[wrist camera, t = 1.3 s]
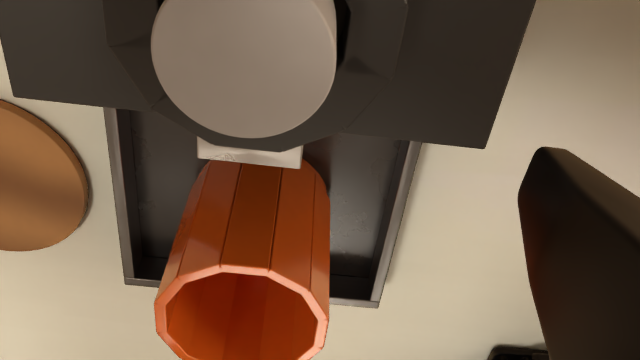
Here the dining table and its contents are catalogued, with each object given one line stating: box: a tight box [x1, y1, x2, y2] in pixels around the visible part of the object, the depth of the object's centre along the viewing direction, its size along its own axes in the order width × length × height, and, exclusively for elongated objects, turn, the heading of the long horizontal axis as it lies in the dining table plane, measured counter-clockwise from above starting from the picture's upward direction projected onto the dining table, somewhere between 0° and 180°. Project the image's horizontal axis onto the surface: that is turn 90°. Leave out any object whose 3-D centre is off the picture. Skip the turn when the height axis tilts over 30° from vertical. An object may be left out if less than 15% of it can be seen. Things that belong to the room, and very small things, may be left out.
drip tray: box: [103, 107, 422, 308], centre depth 25 cm, size 12×12×2 cm
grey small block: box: [197, 136, 303, 169], centre depth 16 cm, size 1×3×2 cm, turn 84°
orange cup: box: [154, 159, 330, 360], centre depth 23 cm, size 6×6×7 cm
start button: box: [151, 0, 336, 138], centre depth 12 cm, size 4×4×2 cm
